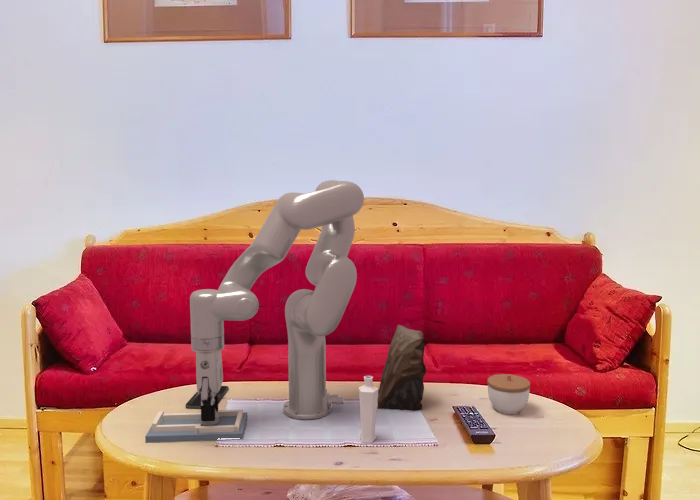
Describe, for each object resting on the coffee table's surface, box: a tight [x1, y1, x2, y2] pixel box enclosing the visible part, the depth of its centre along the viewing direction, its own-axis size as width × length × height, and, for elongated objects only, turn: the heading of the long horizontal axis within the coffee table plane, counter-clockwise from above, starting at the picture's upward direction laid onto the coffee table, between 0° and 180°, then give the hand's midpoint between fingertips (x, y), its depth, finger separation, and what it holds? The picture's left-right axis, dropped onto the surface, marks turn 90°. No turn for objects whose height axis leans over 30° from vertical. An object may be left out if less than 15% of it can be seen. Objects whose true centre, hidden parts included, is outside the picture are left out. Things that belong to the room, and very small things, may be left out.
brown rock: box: [377, 324, 427, 412], centre depth 160 cm, size 13×13×20 cm
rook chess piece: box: [200, 389, 219, 426], centre depth 145 cm, size 4×4×8 cm
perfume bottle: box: [358, 375, 379, 444], centre depth 139 cm, size 5×4×15 cm
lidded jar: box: [487, 373, 531, 415], centre depth 157 cm, size 11×11×9 cm
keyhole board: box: [144, 409, 249, 443], centre depth 145 cm, size 22×12×4 cm, turn 94°
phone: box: [185, 385, 229, 410], centre depth 165 cm, size 8×1×15 cm
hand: (209, 415), depth 145 cm, fingers closed on rook chess piece, 4 cm apart
